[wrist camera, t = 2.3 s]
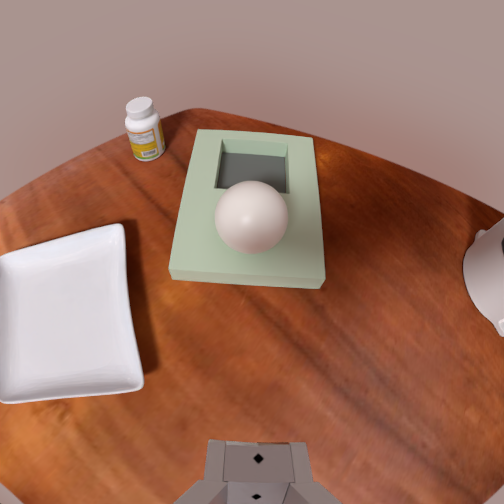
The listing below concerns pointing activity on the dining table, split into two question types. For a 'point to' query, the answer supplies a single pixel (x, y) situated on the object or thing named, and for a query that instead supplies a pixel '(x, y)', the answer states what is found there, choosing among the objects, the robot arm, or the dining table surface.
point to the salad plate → (67, 319)
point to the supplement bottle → (144, 129)
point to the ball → (251, 217)
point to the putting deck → (235, 171)
